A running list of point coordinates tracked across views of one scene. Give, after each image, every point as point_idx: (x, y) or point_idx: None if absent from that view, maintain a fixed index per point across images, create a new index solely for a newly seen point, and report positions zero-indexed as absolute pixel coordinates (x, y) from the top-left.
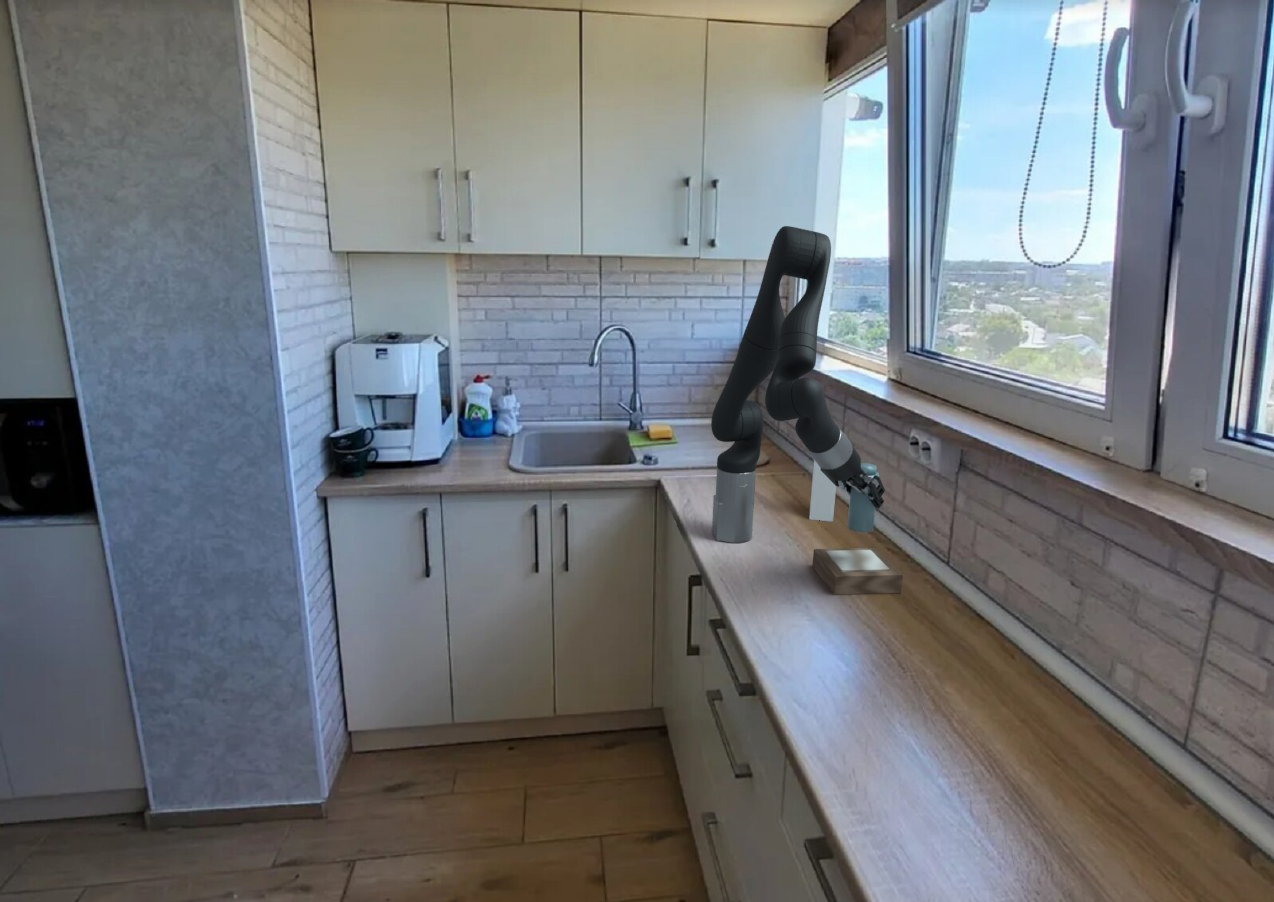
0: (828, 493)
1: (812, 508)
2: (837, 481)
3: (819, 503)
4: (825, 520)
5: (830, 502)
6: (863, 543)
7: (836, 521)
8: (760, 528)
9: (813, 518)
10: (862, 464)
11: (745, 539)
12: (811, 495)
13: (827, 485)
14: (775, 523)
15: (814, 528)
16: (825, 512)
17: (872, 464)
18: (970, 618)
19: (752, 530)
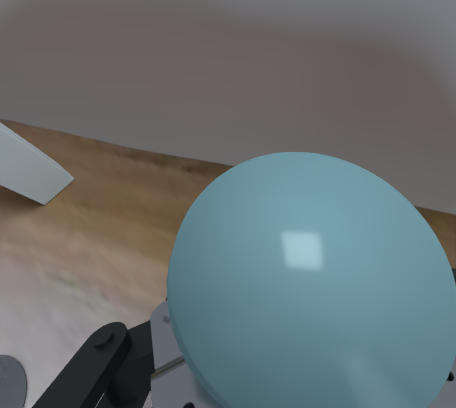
0: (22, 159)
1: (30, 194)
2: (125, 401)
3: (29, 181)
4: (65, 186)
5: (42, 165)
6: (156, 188)
7: (77, 173)
8: (7, 312)
9: (48, 199)
10: (235, 275)
11: (20, 400)
12: (1, 185)
13: (2, 151)
14: (14, 268)
15: (73, 219)
16: (53, 180)
17: (276, 164)
18: (427, 220)
19: (6, 368)
